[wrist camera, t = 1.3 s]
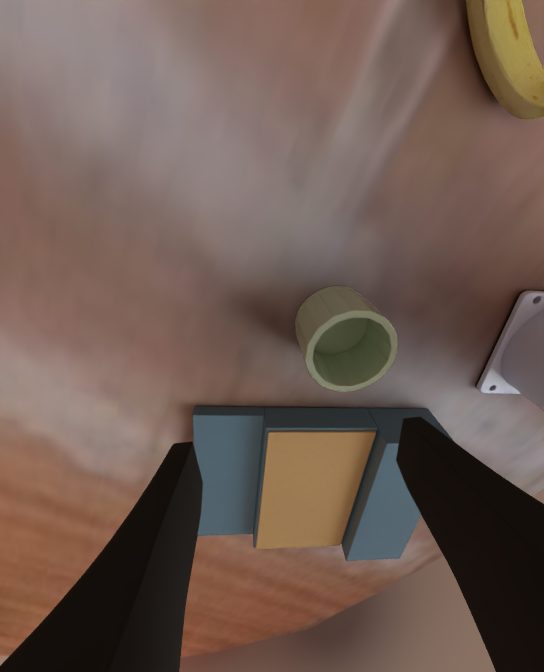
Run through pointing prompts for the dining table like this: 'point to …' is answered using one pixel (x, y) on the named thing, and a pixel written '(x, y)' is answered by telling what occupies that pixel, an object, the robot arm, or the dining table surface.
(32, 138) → the dining table surface
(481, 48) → the banana
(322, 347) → the cup
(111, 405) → the dining table surface
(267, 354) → the dining table surface
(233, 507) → the step shelf
